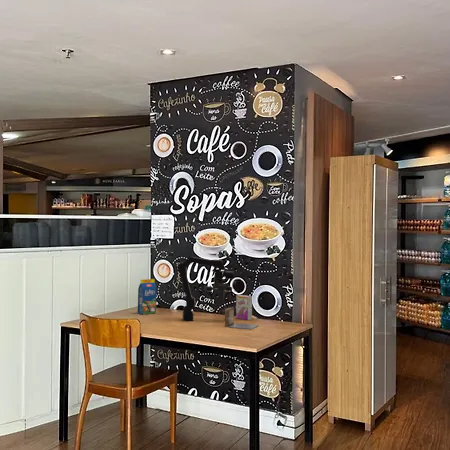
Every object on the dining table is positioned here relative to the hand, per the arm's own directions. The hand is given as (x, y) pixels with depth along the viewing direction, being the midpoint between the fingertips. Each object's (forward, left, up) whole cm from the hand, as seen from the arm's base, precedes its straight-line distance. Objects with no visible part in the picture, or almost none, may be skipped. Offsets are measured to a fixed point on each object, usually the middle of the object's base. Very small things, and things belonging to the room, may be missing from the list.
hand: (217, 301), depth 387 cm
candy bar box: (+21, +5, -14) cm, 25 cm away
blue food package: (-39, +45, -14) cm, 61 cm away
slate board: (+9, -26, -13) cm, 31 cm away
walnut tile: (+2, -20, -13) cm, 24 cm away
